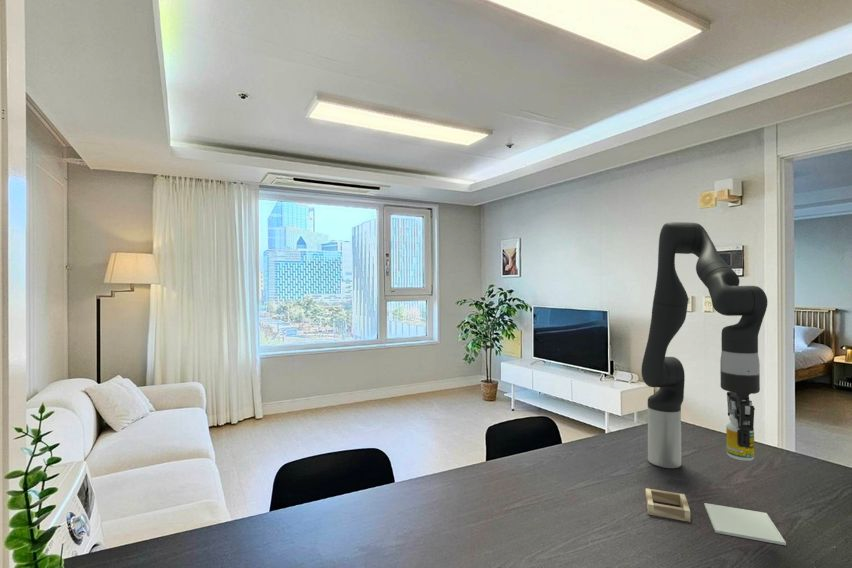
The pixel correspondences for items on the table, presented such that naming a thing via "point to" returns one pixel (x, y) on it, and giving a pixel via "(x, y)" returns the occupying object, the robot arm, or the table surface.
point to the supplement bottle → (732, 445)
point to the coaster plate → (743, 523)
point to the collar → (667, 510)
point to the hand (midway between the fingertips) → (740, 441)
